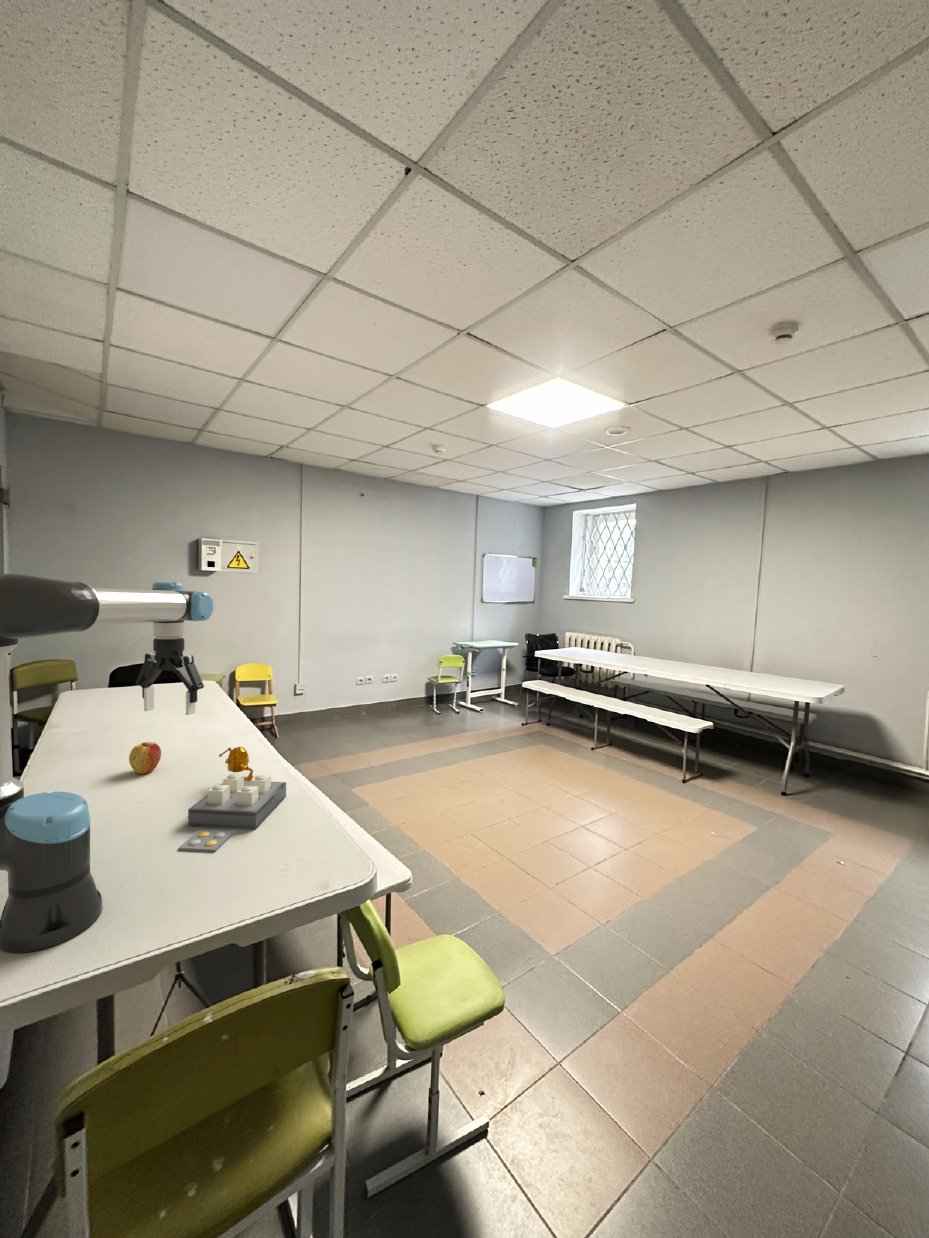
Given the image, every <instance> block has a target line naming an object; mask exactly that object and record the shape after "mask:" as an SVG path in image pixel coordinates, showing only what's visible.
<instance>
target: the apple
mask: <svg viewBox="0 0 929 1238" xmlns="http://www.w3.org/2000/svg"><path fill="white" fill-rule="evenodd" d="M161 757H162V750H161V747H160V745H159V744H158V743H156V742H154V741H145V742H141V743H139V744H136V746H134V747H133V748H132V749H131V751H130V752H129V757H128V762H129V765H130V767H131V768H132V769H133V771H134V772H135V773H136V774H139V775H145V774H148V773H152V772H154V770H155V769H156V768H157V767H158V765H159V763H160V761H161Z"/></svg>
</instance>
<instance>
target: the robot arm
mask: <svg viewBox="0 0 929 1238" xmlns="http://www.w3.org/2000/svg"><path fill="white" fill-rule="evenodd" d="M213 611H214V601H213V597H212V596H211V595H210V594H209V593H207V592H204V591H198V590H194V591H193V590H192V591H191V590H190V591H189V590H184V584H183V583H180V582H178V581H177V582H176V581H175V582H173V581H169V582H168V581H155V582H153V583H152V588H151V589H140V588H139V589H138V588H135V589H134V588H108V587H92V586H91V585H89V584H88V583H85V582H82V581H70V580H69V581H68V580H62V579H53V578H46V577H42V576H36V575H29V574H20V573H0V871H5V872H6V873H7V884H8V885H7V886H8V887H7V889H8V891H7V893H8V895H7V898H6V902H5V904H4V906H3V909H2V912H1V915H0V950H1V951H3V952H7V953H13V954H16V953H17V954H20V953H29V952H36V951H39V950H45V949H47V948H50V947H53V946H56V945H59V944H62V943H64V942H66V941H68V940H70V939H72V938H75V937H76V936H78V935H79V934H81V933H83V932H84V931H86V930H87V929H88V928H89V927H91V926H92V925H93V924H94V923H96V921H97V920H98V919H99V918H100V916H101V915H102V912H103V897H102V894H101V892H100V891H99V889H98V888H97V885H96V883H95V880H94V877H93V876H92V873H91V816H90V811H89V805H88V802H87V800H86V799H85V798H84V797H83V796H81V795H79V794H77V793H74V792H67V791H52V792H49V793H48V792H47V791H46V792H39V793H34V794H30V795H27V796H25V787H24V786H25V785H24V783H23V781H21V780H19V779H17V778H15V777H13V755H12V753H13V751H12V749H13V748H12V729H11V702H10V681H9V680H10V677H9V656H8V655H9V654H10V652H12V651H13V650H14V649H15V648H17V647H18V646H19V639H27V638H28V639H31V638H35V637H37V638H38V637H44V636H50V635H58V634H66V633H76V632H79V633H80V632H84V631H87V630H89V629H91V628H92V627H94V626H106V625H109V626H110V625H124V624H127V625H128V624H142V623H144V624H145V623H152V630H153V631H152V636H153V637H154V638H153V640H152V641H153V642H152V645H153V646H152V647H153V649H152V650H153V651H154V652H149V653H145V654H144V662H143V664H142V666H141V668H140V671H139V672H138V675H137V678H136V681H135V683H134V684H135V685H136V686H140V687H141V688H142V689H141V690H142V694H141V695H142V696H141V697H142V699H143V703H144V704H143V712H148V711H153V710H155V686H154V685H153V684H154V683H155V681H156V679H157V678H158V677H159V676H160V674H161V673H162V672H164V671H168V672H173V673H175V674H176V675H177V677H178V679H180V681H181V682H182V683H183V685H184V686H185V687H186V689H187V691H185V715H186V716H190V715H193V714H196V703H197V702H198V691H199V690H202V689H204V688H205V685H204V682H203V680H202V678H201V675H200V673H199V671H198V668H197V666H196V664H195V660H194V659H195V658H194V655H192V654H191V655H189V654H188V655H184V654H183V652H184V651H185V638H184V636H185V622H186V621H187V622H188V621H189V622H200V621H201V622H203V621H204V622H205V621H207V620H209V618H211V617H212V615H213V613H214V612H213ZM155 662H156V663H155Z"/></svg>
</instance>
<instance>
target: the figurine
mask: <svg viewBox="0 0 929 1238" xmlns="http://www.w3.org/2000/svg"><path fill="white" fill-rule="evenodd" d="M228 751H229V754H228V758H226V760H225V763H224V764H227V772H231V773H242V772H244V771H248V772H249V773H248V775H247V776H244V780H245V781H251V780H252V779H253V778H254V777H255V776H254V775H253V773H254V769H252V768H251V767H249V761H250V760H249V759H250V758H249V753H248V751H247V750H246V749H245V748H244V747H242V746H238V747H234V748H233V749H232V748H231V747H230V746H229V747H228V748H227V749H226V750H224V751H222V752H221V753H219V755H218V757H221V758H222V757H223V755H224V754H226V753H227V752H228Z"/></svg>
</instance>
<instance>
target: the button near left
mask: <svg viewBox="0 0 929 1238" xmlns="http://www.w3.org/2000/svg"><path fill="white" fill-rule="evenodd" d="M207 795H208V804H219V805H223V804H225V803H226V802H227V801H228V800H229V799H230V785H221V784H214V785H213V786H212V787H211V788H209V789H208V790H207Z"/></svg>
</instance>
